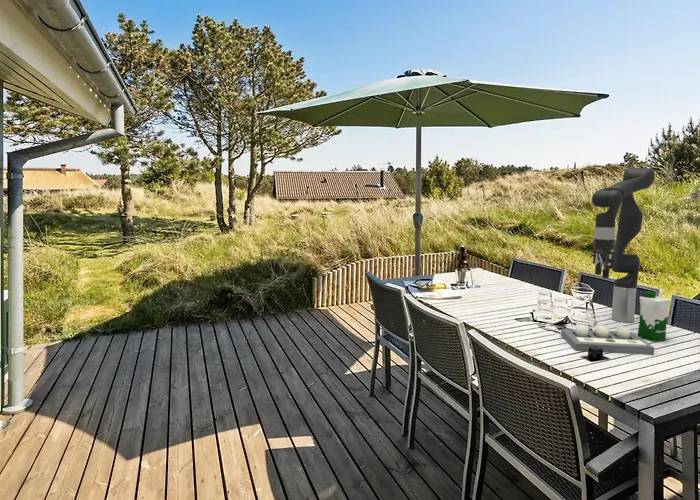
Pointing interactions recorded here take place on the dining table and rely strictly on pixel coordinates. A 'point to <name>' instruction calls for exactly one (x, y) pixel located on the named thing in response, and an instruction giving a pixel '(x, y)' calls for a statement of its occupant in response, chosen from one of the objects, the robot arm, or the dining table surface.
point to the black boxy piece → (595, 354)
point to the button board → (613, 348)
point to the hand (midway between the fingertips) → (601, 276)
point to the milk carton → (653, 317)
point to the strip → (610, 341)
